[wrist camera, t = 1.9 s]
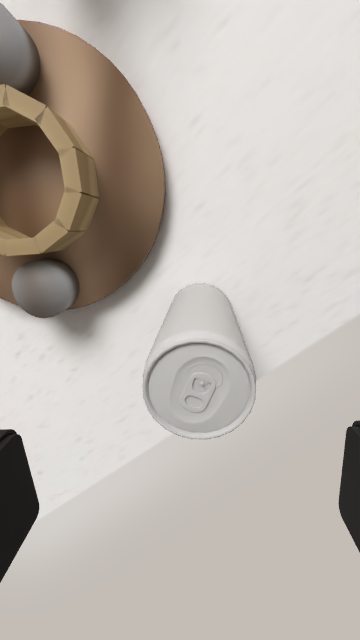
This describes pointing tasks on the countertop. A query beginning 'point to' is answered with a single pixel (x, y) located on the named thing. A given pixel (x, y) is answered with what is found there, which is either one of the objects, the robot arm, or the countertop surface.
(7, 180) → the carrier
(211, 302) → the beverage can
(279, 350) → the countertop surface
